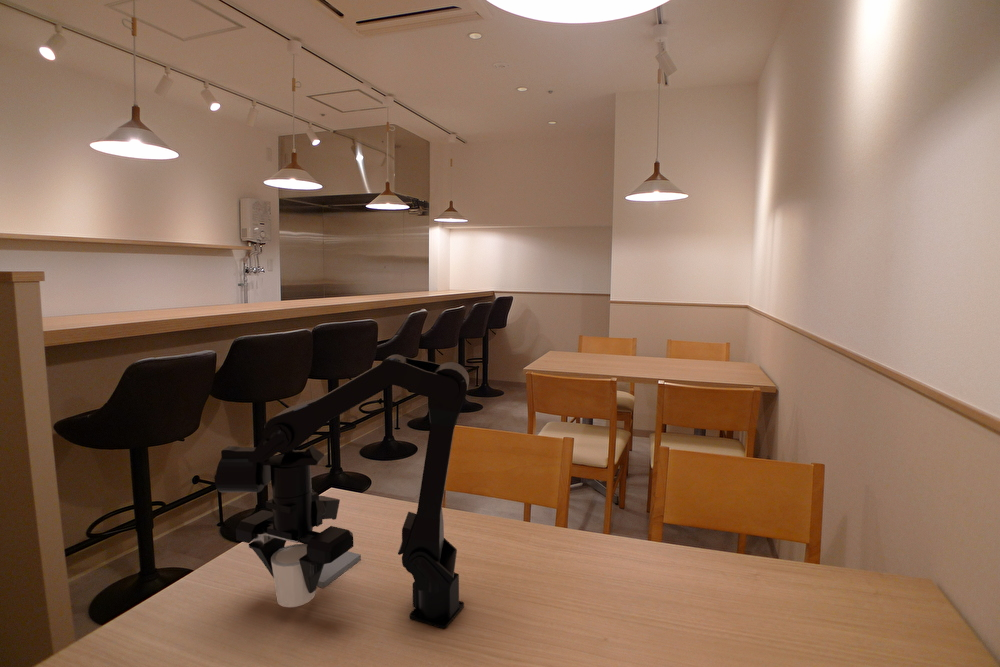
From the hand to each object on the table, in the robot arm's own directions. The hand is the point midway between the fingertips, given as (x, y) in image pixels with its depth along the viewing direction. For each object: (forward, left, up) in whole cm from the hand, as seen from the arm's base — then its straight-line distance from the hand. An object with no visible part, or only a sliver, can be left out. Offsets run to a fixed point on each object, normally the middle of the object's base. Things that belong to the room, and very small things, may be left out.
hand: (296, 586), depth 84 cm
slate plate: (+6, -12, -4) cm, 14 cm away
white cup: (0, 0, -2) cm, 2 cm away
